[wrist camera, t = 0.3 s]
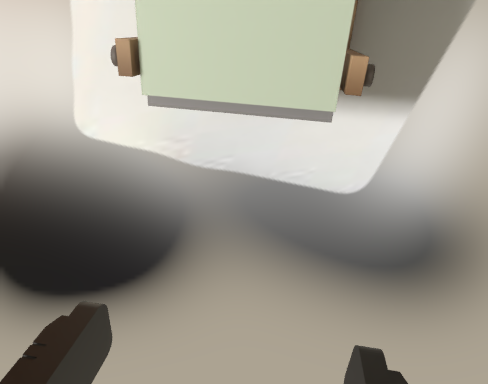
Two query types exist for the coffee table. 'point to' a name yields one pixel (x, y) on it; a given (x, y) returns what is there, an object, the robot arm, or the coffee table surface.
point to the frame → (351, 80)
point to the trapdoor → (244, 55)
